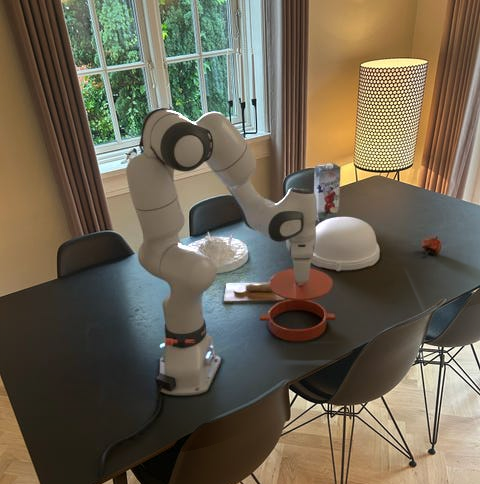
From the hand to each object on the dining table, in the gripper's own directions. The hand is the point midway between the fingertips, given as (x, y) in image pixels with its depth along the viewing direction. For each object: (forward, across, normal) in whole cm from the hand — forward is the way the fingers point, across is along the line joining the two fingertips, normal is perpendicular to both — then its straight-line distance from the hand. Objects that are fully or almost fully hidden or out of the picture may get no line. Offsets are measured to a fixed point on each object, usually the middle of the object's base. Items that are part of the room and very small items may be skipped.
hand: (300, 281), depth 157 cm
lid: (+1, 0, 0) cm, 1 cm away
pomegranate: (+16, -49, +54) cm, 75 cm away
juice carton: (+16, -88, +15) cm, 91 cm away
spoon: (+15, -20, -15) cm, 29 cm away
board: (+16, -20, -16) cm, 30 cm away
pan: (+16, +1, -1) cm, 16 cm away
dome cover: (+16, -51, +19) cm, 57 cm away
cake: (+16, -50, -34) cm, 63 cm away
